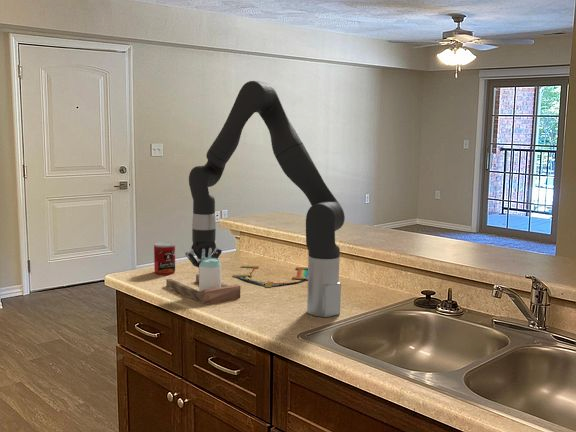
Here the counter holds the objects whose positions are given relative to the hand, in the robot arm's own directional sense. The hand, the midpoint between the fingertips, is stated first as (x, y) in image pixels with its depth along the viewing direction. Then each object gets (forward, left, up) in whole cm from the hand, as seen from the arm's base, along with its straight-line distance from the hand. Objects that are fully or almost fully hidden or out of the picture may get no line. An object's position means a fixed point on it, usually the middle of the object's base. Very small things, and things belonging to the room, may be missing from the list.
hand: (203, 278), depth 203 cm
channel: (+1, 0, -5) cm, 5 cm away
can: (-5, 0, -5) cm, 7 cm away
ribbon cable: (+4, -31, -5) cm, 32 cm away
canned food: (+32, -2, -5) cm, 33 cm away
